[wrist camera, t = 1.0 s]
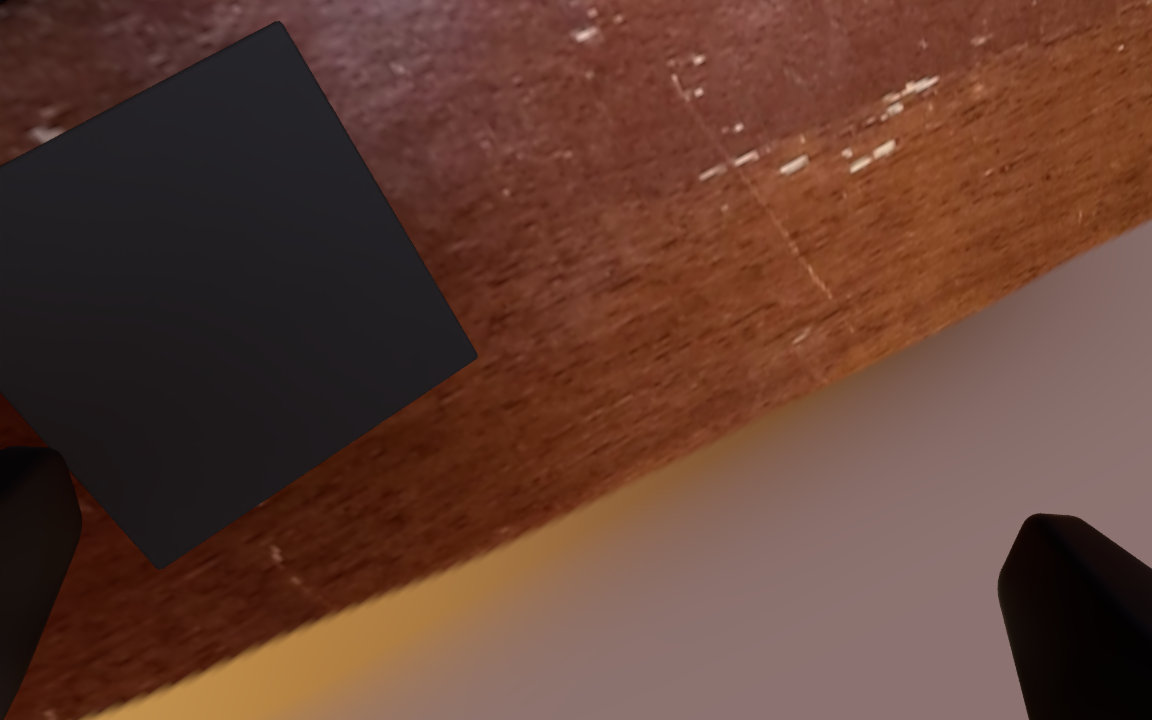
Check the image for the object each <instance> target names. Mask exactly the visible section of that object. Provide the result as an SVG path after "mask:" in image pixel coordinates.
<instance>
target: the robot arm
mask: <svg viewBox="0 0 1152 720" xmlns="http://www.w3.org/2000/svg"><path fill="white" fill-rule="evenodd" d="M81 531H82V515H81V510H80V507H79V504H78V500H77V497H76V494H75V490H74V487H73V484H72V481H71V477H70V474H69V471H68V468H67V464H66V462H65V459H64V457H63V456H62V455H61V454H60V452H58V451H57V450H54V449H52V448H42V447H27V446H11V447H7V448H4V449H2V450H0V720H4V718H5V716H6V714H7V712H8V710H9V708H10V706H11V704H12V702H13V700H14V698H15V696H16V694H17V692H18V690H19V688H20V685H21V683H22V681H23V679H24V676H25V674H26V672H27V669H28V667H29V665H30V662H31V660H32V657H33V655H34V652H35V650H36V647H37V645H38V642H39V640H40V637H41V635H42V632H43V630H44V627H45V625H46V623H47V620H48V618H49V615H50V613H51V610H52V608H53V605H54V603H55V600H56V598H57V595H58V593H59V590H60V588H61V585H62V583H63V580H64V578H65V575H66V573H67V570H68V568H69V565H70V563H71V560H72V558H73V555H74V553H75V550H76V548H77V545H78V543H79V540H80V536H81ZM998 598H999V603H1000V607H1001V611H1002V615H1003V618H1004V623H1005V626H1006V630H1007V635H1008V638H1009V642H1010V646H1011V650H1012V654H1013V658H1014V662H1015V666H1016V670H1017V674H1018V678H1019V682H1020V686H1021V690H1022V694H1023V698H1024V702H1025V706H1026V709H1027V713H1028V718H1029V720H1152V569H1151V568H1150V567H1148V566H1147V565H1146V564H1144V563H1143V562H1141V561H1140V560H1138V559H1137V558H1136V557H1134V556H1133V555H1131V554H1130V553H1129V552H1127V551H1126V550H1124V549H1123V548H1122V547H1120V546H1119V545H1117V544H1116V543H1115V542H1113V541H1112V540H1110V539H1109V538H1107V537H1106V536H1105V535H1103V534H1102V533H1100V532H1099V531H1098V530H1096V529H1095V528H1093V527H1092V526H1090V525H1089V524H1087V523H1086V522H1085V521H1083V520H1082V519H1080V518H1078V517H1075V516H1070V515H1057V514H1041V513H1040V514H1034V515H1032V516H1030V517H1028V518H1027V519H1026V520H1025V522H1024V523H1023V525H1022V527H1021V529H1020V531H1019V533H1018V535H1017V537H1016V539H1015V542H1014V544H1013V546H1012V548H1011V550H1010V552H1009V555H1008V556H1007V559H1006V561H1005V563H1004V565H1003V567H1002V569H1001V572H1000V575H999V579H998Z"/></svg>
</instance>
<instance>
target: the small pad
mask: <svg viewBox="0 0 1152 720" xmlns="http://www.w3.org/2000/svg"><path fill="white" fill-rule="evenodd" d="M477 357H478V356H477V352H476V351H475V349H474V347H473V345H472V344H471V342H470V340H469V339H468V337H467V335H466V334H465V332H464V330H463V329H462V327H461V325H460V323H459V322H458V320H457V318H456V317H455V315H454V313H453V312H452V310H451V308H450V306H449V305H448V303H447V301H446V300H445V298H444V296H443V295H442V293H441V291H440V290H439V288H438V286H437V284H436V283H435V281H434V279H433V278H432V276H431V274H430V273H429V271H428V269H427V267H426V266H425V264H424V262H423V261H422V259H421V257H420V256H419V254H418V252H417V250H416V249H415V247H414V245H413V244H412V242H411V240H410V239H409V237H408V235H407V234H406V232H405V230H404V228H403V227H402V225H401V223H400V222H399V220H398V218H397V217H396V215H395V213H394V211H393V210H392V208H391V206H390V205H389V203H388V201H387V200H386V198H385V196H384V195H383V193H382V191H381V189H380V188H379V186H378V184H377V183H376V181H375V179H374V178H373V176H372V174H371V172H370V171H369V169H368V167H367V166H366V164H365V162H364V161H363V159H362V157H361V156H360V154H359V152H358V150H357V149H356V147H355V145H354V144H353V142H352V140H351V139H350V137H349V135H348V133H347V132H346V130H345V128H344V127H343V125H342V123H341V122H340V120H339V118H338V116H337V115H336V113H335V111H334V110H333V108H332V106H331V105H330V103H329V101H328V100H327V98H326V96H325V94H324V93H323V91H322V89H321V88H320V86H319V84H318V83H317V81H316V79H315V77H314V76H313V74H312V72H311V71H310V69H309V67H308V66H307V64H306V62H305V61H304V59H303V57H302V55H301V54H300V52H299V50H298V49H297V47H296V45H295V44H294V42H293V40H292V38H291V37H290V35H289V33H288V32H287V30H286V28H285V27H284V25H283V24H282V23H281V22H280V21H276V22H274V23H272V24H270V25H268V26H266V27H264V28H262V29H260V30H258V31H256V32H255V33H253V34H251V35H249V36H247V37H245V38H243V39H241V40H239V41H237V42H236V43H234V44H232V45H230V46H228V47H226V48H224V49H222V50H220V51H218V52H217V53H215V54H213V55H211V56H209V57H207V58H205V59H203V60H201V61H199V62H198V63H196V64H194V65H192V66H190V67H188V68H186V69H184V70H182V71H180V72H178V73H177V74H175V75H173V76H171V77H169V78H167V79H165V80H163V81H161V82H159V83H158V84H156V85H154V86H152V87H150V88H148V89H146V90H144V91H142V92H140V93H139V94H137V95H135V96H133V97H131V98H129V99H127V100H125V101H123V102H121V103H120V104H118V105H116V106H114V107H112V108H110V109H108V110H106V111H104V112H102V113H101V114H99V115H97V116H95V117H93V118H91V119H89V120H87V121H85V122H83V123H81V124H80V125H78V126H76V127H74V128H72V129H70V130H68V131H66V132H64V133H62V134H61V135H59V136H57V137H55V138H53V139H51V140H49V141H47V142H45V143H43V144H42V145H40V146H38V147H36V148H34V149H32V150H30V151H28V152H26V153H24V154H23V155H21V156H19V157H17V158H15V159H13V160H11V161H9V162H7V163H5V164H4V165H2V166H0V392H1V394H2V395H3V396H4V397H5V398H6V399H7V400H8V401H9V403H10V404H11V405H12V406H13V407H14V408H15V409H16V411H17V412H18V413H19V414H20V415H21V416H22V417H23V418H24V420H25V421H26V422H27V423H28V424H29V425H30V426H31V427H32V429H33V430H34V431H35V432H36V433H37V434H38V435H39V436H40V438H41V439H42V440H43V441H44V442H45V443H46V444H47V446H48V447H49V448H52V449H54V450H57V451H58V452H60V454H61V455H62V456H63V457H64V459H65V462H66V464H67V468H68V469H69V470H70V472H71V473H72V474H73V475H74V476H75V477H76V478H77V479H78V481H79V482H80V483H81V484H82V485H83V486H84V487H85V488H86V490H87V491H88V492H89V493H90V494H91V495H92V496H93V497H94V499H95V500H96V501H97V502H98V503H99V504H100V505H101V507H102V508H103V509H104V510H105V511H106V512H107V513H108V514H109V516H110V517H111V518H112V519H113V520H114V521H115V522H116V523H117V525H118V526H119V527H120V528H121V529H122V530H123V531H124V532H125V534H126V535H127V536H128V537H129V538H130V539H131V540H132V542H133V543H134V544H135V545H136V546H137V547H138V548H139V549H140V551H141V552H142V553H143V554H144V555H145V556H146V557H147V558H148V560H149V561H150V562H151V563H152V564H153V565H154V566H155V567H156V568H157V569H159V570H161V569H163V568H165V567H166V566H168V565H169V564H171V563H172V562H174V561H175V560H177V559H178V558H180V557H181V556H183V555H184V554H186V553H187V552H189V551H190V550H192V549H193V548H195V547H196V546H198V545H199V544H201V543H202V542H204V541H205V540H207V539H208V538H210V537H211V536H213V535H214V534H216V533H217V532H218V531H220V530H221V529H223V528H224V527H226V526H227V525H229V524H230V523H232V522H233V521H235V520H236V519H238V518H239V517H241V516H242V515H244V514H245V513H247V512H248V511H250V510H251V509H253V508H254V507H256V506H257V505H259V504H260V503H262V502H263V501H265V500H266V499H268V498H269V497H271V496H272V495H274V494H275V493H277V492H278V491H280V490H281V489H283V488H284V487H286V486H287V485H289V484H290V483H292V482H293V481H295V480H296V479H298V478H299V477H301V476H302V475H304V474H305V473H307V472H308V471H310V470H311V469H313V468H314V467H316V466H317V465H319V464H320V463H322V462H323V461H325V460H326V459H328V458H329V457H331V456H332V455H334V454H335V453H337V452H338V451H340V450H341V449H343V448H344V447H346V446H347V445H349V444H350V443H352V442H353V441H355V440H356V439H358V438H359V437H361V436H362V435H364V434H365V433H367V432H368V431H370V430H371V429H373V428H374V427H376V426H377V425H379V424H380V423H381V422H383V421H384V420H386V419H387V418H389V417H390V416H392V415H393V414H395V413H396V412H398V411H399V410H401V409H402V408H404V407H405V406H407V405H408V404H410V403H411V402H413V401H414V400H416V399H417V398H419V397H420V396H422V395H423V394H425V393H426V392H428V391H429V390H431V389H432V388H434V387H435V386H437V385H438V384H440V383H441V382H443V381H444V380H446V379H447V378H449V377H450V376H452V375H453V374H455V373H456V372H458V371H459V370H461V369H462V368H464V367H465V366H467V365H468V364H470V363H471V362H473V361H474V360H476V359H477Z"/></svg>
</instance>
